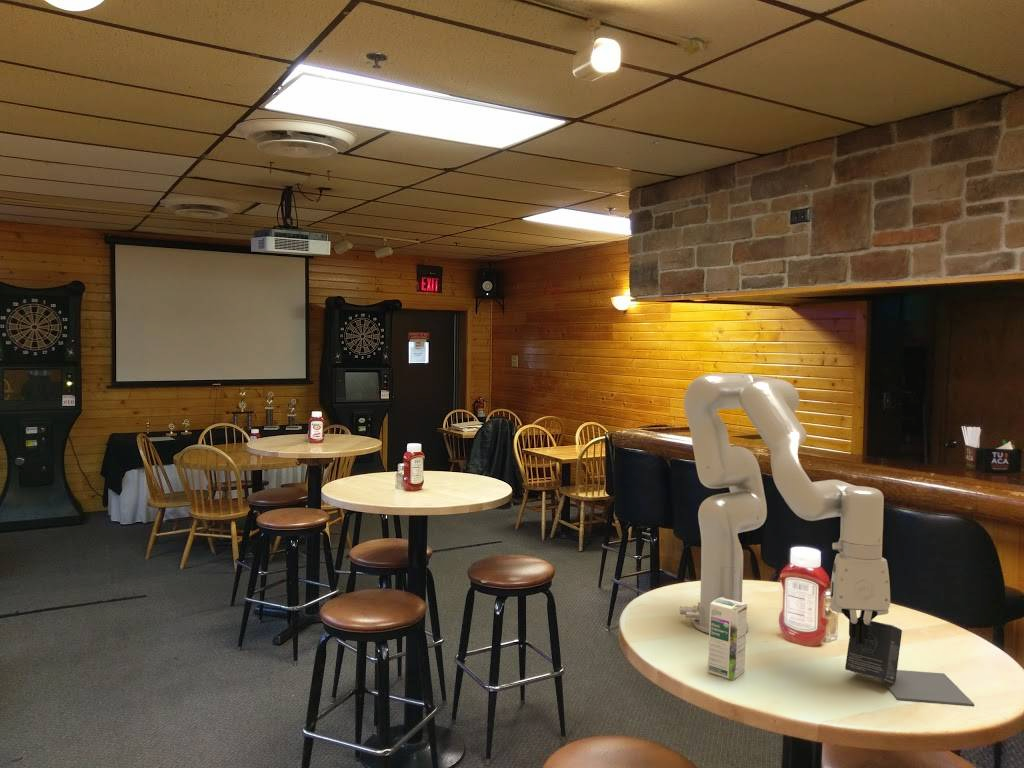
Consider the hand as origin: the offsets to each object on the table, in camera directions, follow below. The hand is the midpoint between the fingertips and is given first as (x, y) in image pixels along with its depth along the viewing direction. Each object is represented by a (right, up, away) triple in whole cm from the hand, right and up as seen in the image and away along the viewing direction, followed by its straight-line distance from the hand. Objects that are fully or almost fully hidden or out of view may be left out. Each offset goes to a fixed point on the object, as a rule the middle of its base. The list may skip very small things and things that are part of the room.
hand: (857, 641), depth 146 cm
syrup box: (-25, -8, +4) cm, 27 cm away
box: (+2, -7, 0) cm, 8 cm away
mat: (+12, -9, -1) cm, 15 cm away
